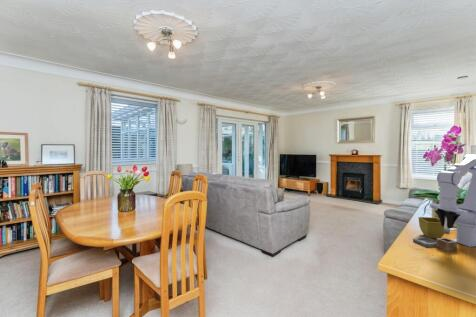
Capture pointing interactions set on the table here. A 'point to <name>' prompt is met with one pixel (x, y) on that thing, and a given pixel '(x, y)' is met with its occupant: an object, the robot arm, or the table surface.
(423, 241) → the tray
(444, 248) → the walnut block
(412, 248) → the table surface
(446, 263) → the table surface
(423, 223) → the flower pot
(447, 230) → the cylinder
